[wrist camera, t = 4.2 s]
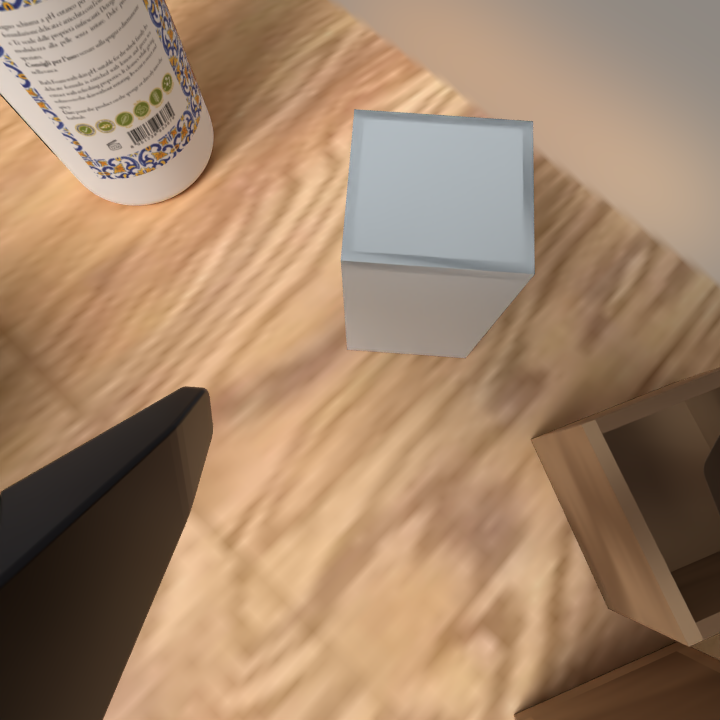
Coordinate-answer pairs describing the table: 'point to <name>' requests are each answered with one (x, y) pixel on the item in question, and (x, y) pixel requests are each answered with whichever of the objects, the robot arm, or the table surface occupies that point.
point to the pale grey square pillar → (435, 230)
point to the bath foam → (107, 93)
